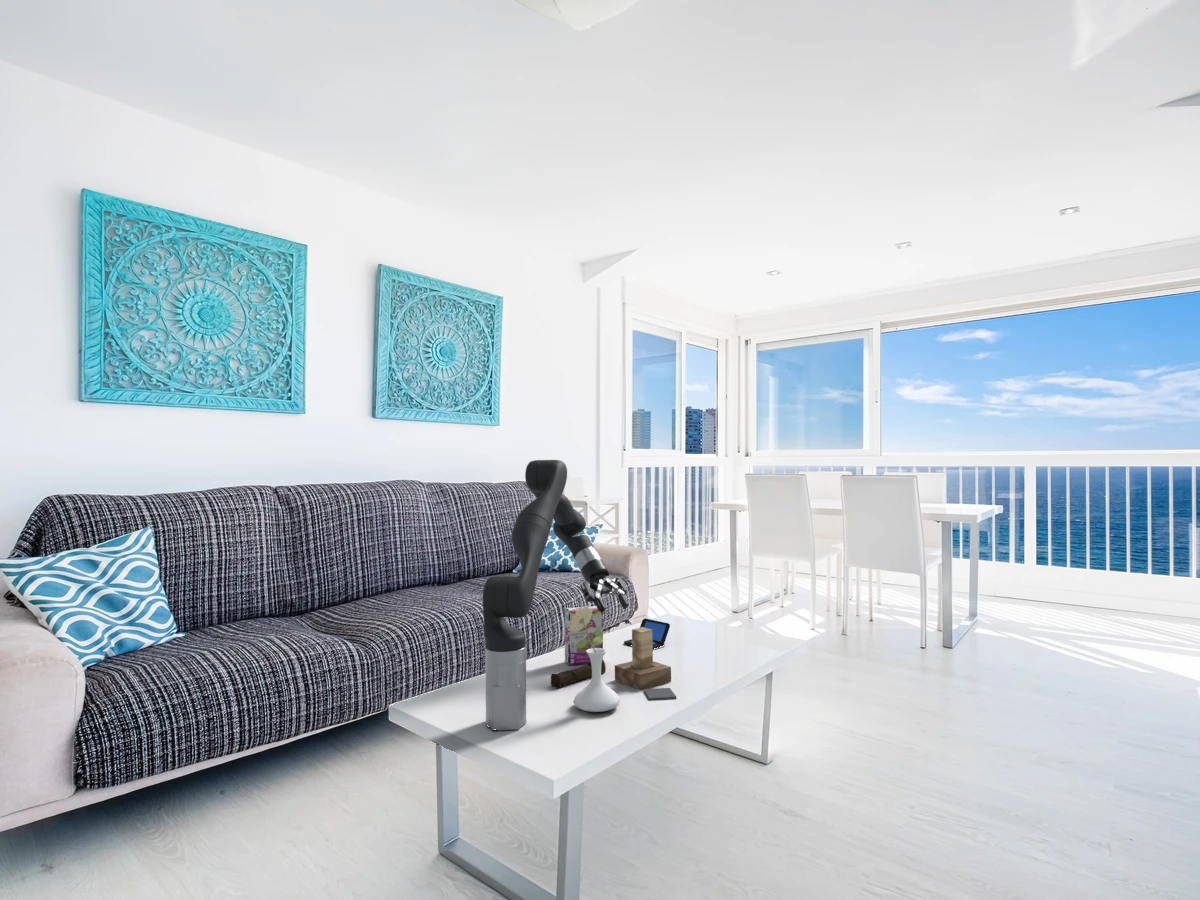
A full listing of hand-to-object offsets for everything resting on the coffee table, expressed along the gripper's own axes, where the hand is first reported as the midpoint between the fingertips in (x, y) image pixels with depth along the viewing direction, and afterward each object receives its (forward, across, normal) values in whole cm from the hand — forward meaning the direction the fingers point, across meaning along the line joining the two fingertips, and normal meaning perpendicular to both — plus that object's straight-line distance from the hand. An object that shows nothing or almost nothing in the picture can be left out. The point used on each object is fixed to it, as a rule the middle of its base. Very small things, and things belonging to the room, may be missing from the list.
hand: (615, 609), depth 185 cm
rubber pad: (+29, -4, -4) cm, 29 cm away
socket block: (+21, 0, +4) cm, 21 cm away
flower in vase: (+27, -23, -2) cm, 36 cm away
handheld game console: (+1, +27, +25) cm, 37 cm away
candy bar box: (+3, -2, +22) cm, 23 cm away
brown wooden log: (+12, -13, +13) cm, 22 cm away
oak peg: (+21, 0, +4) cm, 21 cm away
